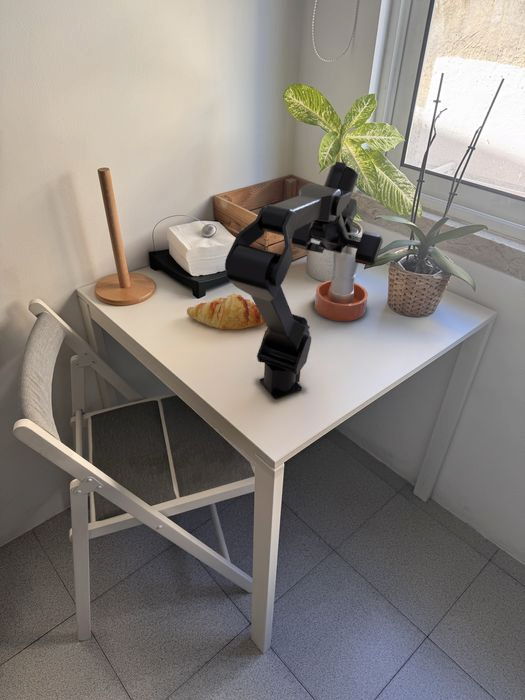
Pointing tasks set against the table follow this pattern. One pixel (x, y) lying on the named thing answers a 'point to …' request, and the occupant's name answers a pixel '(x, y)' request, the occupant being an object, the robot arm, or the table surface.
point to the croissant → (227, 313)
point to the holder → (340, 310)
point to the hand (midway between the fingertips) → (341, 255)
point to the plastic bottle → (344, 275)
